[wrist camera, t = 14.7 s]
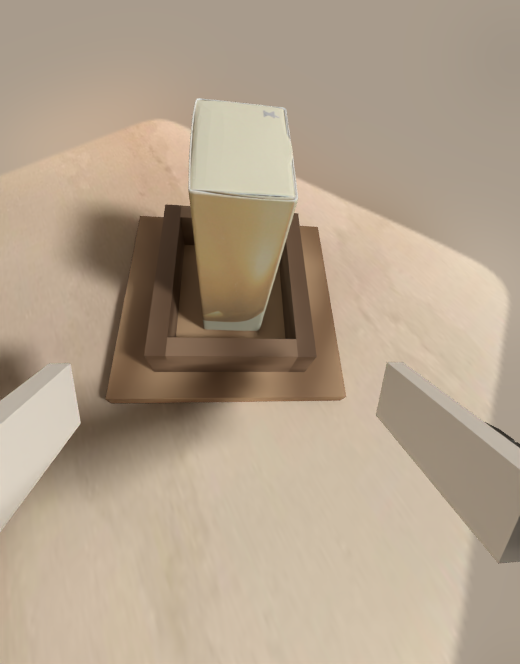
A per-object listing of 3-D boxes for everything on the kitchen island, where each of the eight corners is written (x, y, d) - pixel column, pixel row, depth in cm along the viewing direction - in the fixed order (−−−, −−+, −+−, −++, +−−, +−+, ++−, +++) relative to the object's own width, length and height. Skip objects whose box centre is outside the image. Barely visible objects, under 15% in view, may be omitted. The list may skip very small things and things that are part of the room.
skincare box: (205, 264, 24) (193, 90, 13) (258, 266, 25) (287, 101, 14) (202, 334, 21) (183, 188, 11) (261, 335, 22) (301, 196, 11)
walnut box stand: (111, 403, 20) (86, 386, 16) (143, 226, 27) (130, 185, 23) (339, 400, 22) (364, 384, 18) (314, 236, 29) (328, 200, 25)
